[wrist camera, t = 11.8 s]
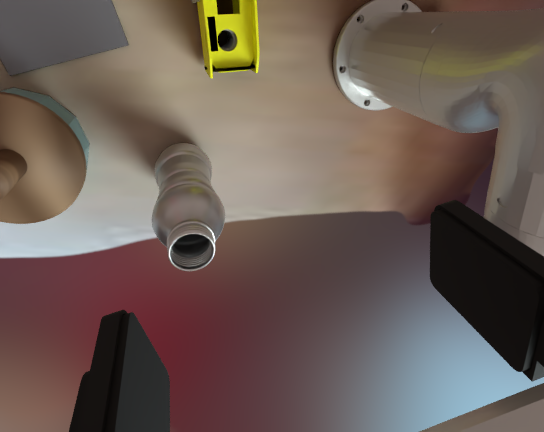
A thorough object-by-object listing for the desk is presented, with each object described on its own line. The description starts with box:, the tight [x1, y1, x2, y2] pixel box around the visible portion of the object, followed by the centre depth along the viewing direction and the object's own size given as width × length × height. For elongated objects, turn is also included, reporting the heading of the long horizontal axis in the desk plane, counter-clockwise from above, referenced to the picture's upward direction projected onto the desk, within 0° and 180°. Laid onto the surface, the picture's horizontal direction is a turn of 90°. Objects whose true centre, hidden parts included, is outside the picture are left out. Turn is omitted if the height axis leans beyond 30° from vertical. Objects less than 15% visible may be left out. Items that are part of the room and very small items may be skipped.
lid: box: [0, 92, 86, 224], centre depth 34 cm, size 13×13×6 cm
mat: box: [0, 0, 129, 76], centre depth 35 cm, size 12×10×1 cm
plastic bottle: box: [152, 143, 225, 271], centre depth 37 cm, size 6×7×20 cm
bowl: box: [0, 87, 89, 170], centre depth 38 cm, size 12×12×5 cm
